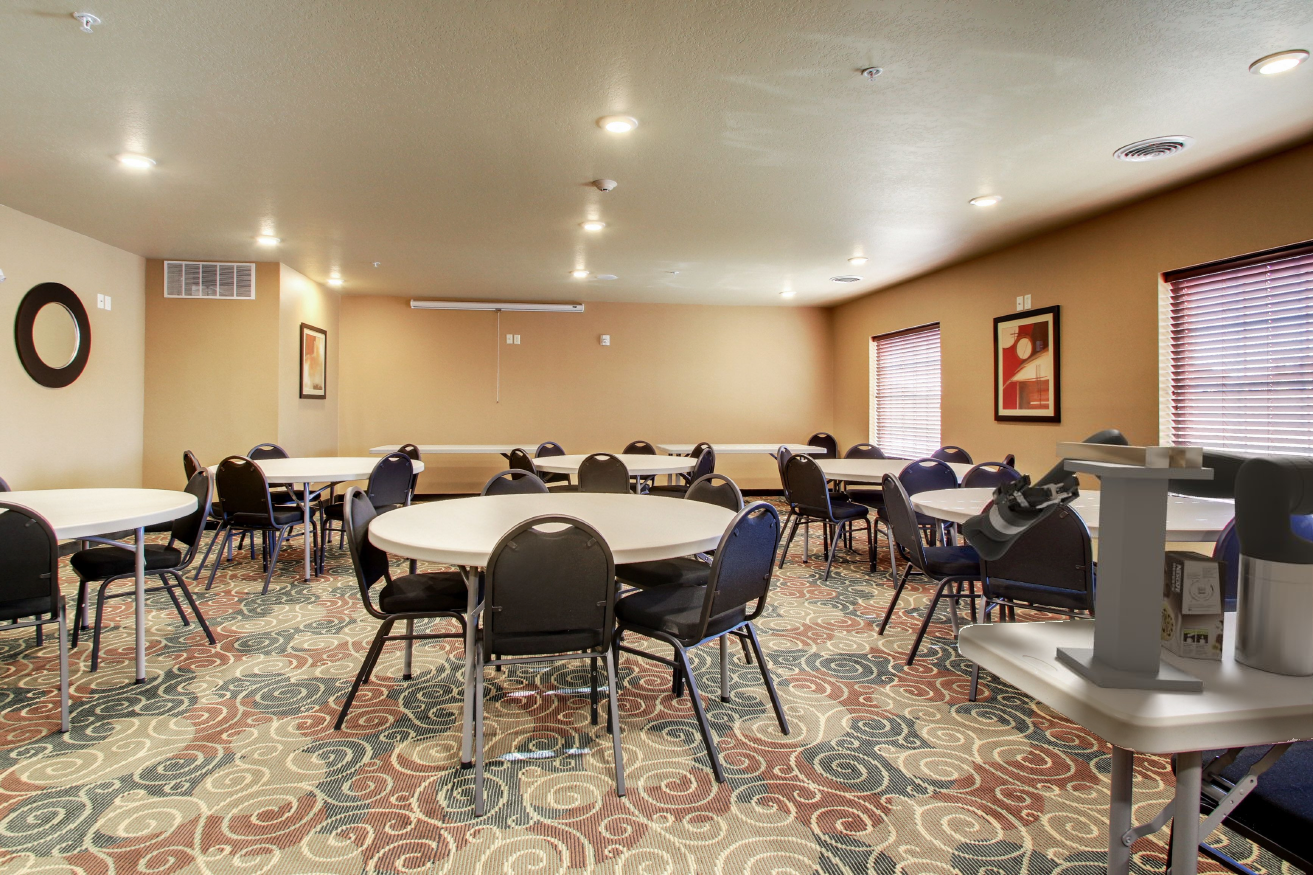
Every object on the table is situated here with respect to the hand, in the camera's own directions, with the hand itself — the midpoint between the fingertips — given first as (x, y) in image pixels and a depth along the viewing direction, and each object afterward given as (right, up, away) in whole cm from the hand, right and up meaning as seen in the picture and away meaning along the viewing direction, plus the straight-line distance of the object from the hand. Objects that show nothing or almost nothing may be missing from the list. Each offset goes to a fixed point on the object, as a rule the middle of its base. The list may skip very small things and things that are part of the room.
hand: (1051, 479), depth 122 cm
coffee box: (+16, -28, -12) cm, 34 cm away
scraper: (-1, +4, -19) cm, 19 cm away
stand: (-2, -28, -22) cm, 36 cm away
